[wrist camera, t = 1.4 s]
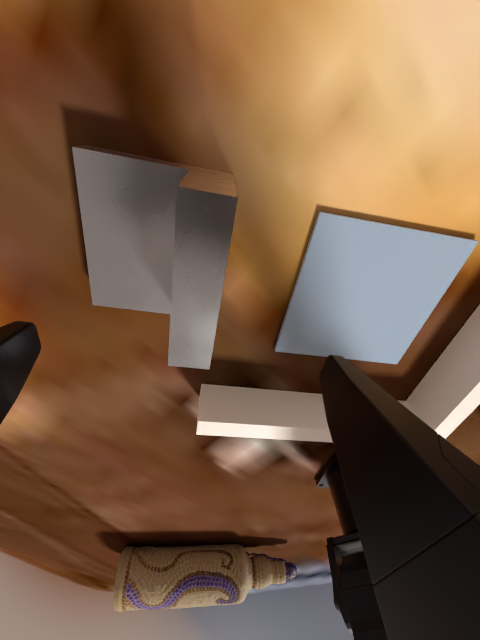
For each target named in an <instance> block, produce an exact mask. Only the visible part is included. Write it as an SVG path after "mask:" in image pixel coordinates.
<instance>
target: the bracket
mask: <svg viewBox="0 0 480 640" xmlns="http://www.w3.org/2000/svg"><path fill="white" fill-rule="evenodd" d="M72 150H73V158H74V166H75V173H76V181H77V188H78V196H79V204H80V211H81V219H82V227H83V234H84V242H85V250H86V257H87V265H88V272H89V280H90V288H91V295H92V303H93V305H98V306H106V307H115V308H123V309H132V310H140V311H148V312H157V313H165V314H171V315H170V335H169V355H168V366H178V367H188V368H199V369H210V363H211V357H212V351H213V345H214V339H215V333H216V327H217V321H218V314H219V308H220V302H221V296H222V290H223V284H224V278H225V272H226V266H227V260H228V254H229V248H230V242H231V235H232V229H233V223H234V217H235V211H236V205H237V199H238V196H237V192H236V187H235V183H234V178H233V174H232V173H227V172H222V171H217V170H212V169H207V168H202V167H197V166H192V165H187V164H181V163H176V162H171V161H166V160H161V159H156V158H151V157H146V156H141V155H135V154H130V153H125V152H120V151H115V150H110V149H105V148H100V147H95V146H89V145H81V146H73V147H72Z"/></svg>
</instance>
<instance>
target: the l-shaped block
mask: <svg viewBox="0 0 480 640" xmlns="http://www.w3.org/2000/svg"><path fill="white" fill-rule="evenodd" d="M397 401H399V400H397ZM399 402H400V403H401V404H402V405H404V406H405V407H406V408H407V409H408V410H410V411H411V412H412V413H413V414H415V415H416V416H417V417H418V418H420V419H421V420H422V421H423V422H425V423H426V424H427V425H428V426H430V427H431V428H432V429H433V430H435V431H436V432H437V434H439V435H441V436H442V437H443V438H445V439H446V438H447V437H448V436H449V435H450V434H451V433H452V432H453V431H454V430H455V429H456V428H457V426H458V425H459V424H460V423H461V422H462V421H463V420H464V419H465V418H466V417H467V416H468V415H469V414H470V413H471V412H472V411H473V410H474V409H475V408H476V407H477V406H478V405H479V404H480V304H479V306H478V307H477V308H476V310H475V311H474V312H473V314H472V315H471V316H470V317H469V319H468V320H467V321H466V323H465V324H464V325H463V327H462V328H461V329H460V331H459V332H458V333H457V334H456V336H455V337H454V338H453V340H452V341H451V342H450V344H449V345H448V346H447V348H446V349H445V350H444V351H443V353H442V354H441V355H440V357H439V358H438V359H437V361H436V362H435V363H434V365H433V366H432V367H431V368H430V370H429V371H428V372H427V374H426V375H425V376H424V378H423V379H422V380H421V382H420V383H419V384H418V385H417V387H416V388H415V389H414V391H413V392H412V393H411V395H410V396H409V397H408V399H407V400H406V401H399ZM196 435H213V436H230V437H247V438H264V439H281V440H298V441H315V442H332V438H331V435H330V431H329V427H328V424H327V419H326V414H325V409H324V403H323V397H322V394H316V393H304V392H293V391H281V390H269V389H257V388H245V387H234V386H222V385H210V384H201V389H200V396H199V407H198V419H197V431H196ZM332 443H333V442H332Z"/></svg>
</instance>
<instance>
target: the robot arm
mask: <svg viewBox="0 0 480 640" xmlns="http://www.w3.org/2000/svg"><path fill="white" fill-rule="evenodd" d="M40 350H41V343H40V339H39V336H38V332H37V328H36V326H35V324H34V323H32V322H24V321H15V322H13V323H10V324H7V325H5V326H2V327H0V424H1V423H2V421H3V419H4V418H5V416H6V415H7V413H8V412H9V410H10V409H11V407H12V405H13V404H14V402H15V401H16V399H17V397H18V395H19V393H20V392H21V390H22V388H23V386H24V384H25V382H26V380H27V378H28V376H29V374H30V372H31V369H32V367H33V365H34V363H35V361H36V359H37V357H38V355H39V353H40ZM320 385H321V391H322V397H323V403H324V409H325V414H326V419H327V424H328V427H329V431H330V435H331V438H332V442H333V445H334V449H335V452H336V454H334V455H333V456H332V458H331V459H330V461H329V462H328V464H327V465H326V467H325V469H324V470H323V472H322V473H321V475H320V476H319V478H318V479H317V481H316V485H317V487H325V488H330V490H331V494H332V497H333V500H334V504H335V507H336V511H337V514H338V517H339V521H340V524H341V527H342V531H343V534H344V535H342V536H338V537H334V538H333V537H330V538H327V545H326V546H327V551H328V557H329V563H330V569H331V575H332V581H333V594H334V604H335V607H336V609H337V610H338V611H339V612H340V613H341V614H342V616H343V619H344V622H345V624H346V626H347V628H348V630H349V631H350V633H351V634H353V636H354V640H480V466H479V465H478V464H477V463H475V462H474V461H473V460H471V459H470V458H469V457H467V456H466V455H465V454H464V453H462V452H461V451H460V450H459V449H457V448H456V447H455V446H453V445H452V444H451V443H450V442H448V441H447V440H446V439H445V438H443V437H442V436H441V435H439V434H437V432H436V431H435V430H433V429H432V428H431V427H430V426H428V425H427V424H426V423H425V422H423V421H422V420H421V419H420V418H418V417H417V416H416V415H415V414H413V413H412V412H411V411H410V410H408V409H407V408H406V407H405V406H404V405H402V404H401V403H400V402H399V401H397V400H396V399H395V398H394V397H392V396H391V395H390V394H389V393H387V392H386V391H385V390H384V389H382V388H381V387H380V386H379V385H377V384H376V383H375V382H374V381H372V380H371V379H370V378H369V377H367V376H366V375H365V374H364V373H362V372H361V371H360V370H359V369H357V368H356V367H355V366H354V365H352V364H351V363H350V362H349V361H347V360H346V359H345V358H344V357H342V356H339V355H329V356H328V357H327V359H326V361H325V363H324V365H323V367H322V369H321V372H320Z"/></svg>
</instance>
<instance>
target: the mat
mask: <svg viewBox="0 0 480 640" xmlns="http://www.w3.org/2000/svg"><path fill="white" fill-rule="evenodd" d="M478 242H479V241H476V240H473V239H468V238H462V237H457V236H451V235H446V234H441V233H435V232H430V231H424V230H419V229H413V228H408V227H403V226H397V225H392V224H386V223H381V222H375V221H370V220H365V219H359V218H354V217H348V216H343V215H338V214H332V213H327V212H321V211H319V212H318V215H317V218H316V221H315V224H314V228H313V231H312V234H311V237H310V240H309V243H308V246H307V249H306V252H305V255H304V259H303V262H302V265H301V268H300V271H299V274H298V277H297V280H296V283H295V286H294V289H293V293H292V296H291V299H290V302H289V305H288V308H287V311H286V314H285V317H284V320H283V324H282V327H281V330H280V333H279V336H278V339H277V342H276V345H275V348H274V349H275V351H276V352H285V353H295V354H304V355H314V356H323V357H328V356H329V355H339V356H342V357H344V358H345V359H352V360H361V361H371V362H380V363H390V364H397V363H398V362H399V360H400V359H401V357H402V356H403V354H404V353H405V351H406V350H407V348H408V347H409V345H410V344H411V342H412V341H413V339H414V338H415V336H416V335H417V333H418V332H419V330H420V329H421V327H422V326H423V324H424V323H425V321H426V320H427V318H428V317H429V315H430V314H431V312H432V311H433V309H434V308H435V306H436V305H437V303H438V302H439V300H440V299H441V297H442V296H443V294H444V293H445V291H446V290H447V288H448V287H449V285H450V284H451V282H452V281H453V279H454V278H455V276H456V275H457V273H458V272H459V270H460V269H461V267H462V266H463V264H464V263H465V261H466V260H467V258H468V257H469V255H470V254H471V252H472V251H473V249H474V248H475V246H476V245H477V243H478Z"/></svg>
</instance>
